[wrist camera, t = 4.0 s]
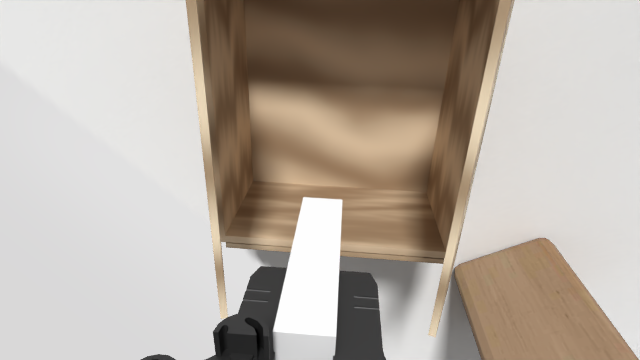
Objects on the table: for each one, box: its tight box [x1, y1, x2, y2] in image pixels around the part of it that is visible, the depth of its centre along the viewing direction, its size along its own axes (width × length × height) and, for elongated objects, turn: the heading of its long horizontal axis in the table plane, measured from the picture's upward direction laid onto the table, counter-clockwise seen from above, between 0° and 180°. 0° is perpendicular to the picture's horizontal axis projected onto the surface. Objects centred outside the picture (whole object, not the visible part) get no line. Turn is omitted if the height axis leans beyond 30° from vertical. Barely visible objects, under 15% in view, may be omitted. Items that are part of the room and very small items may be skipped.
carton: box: [197, 0, 500, 264], centre depth 31 cm, size 21×18×10 cm
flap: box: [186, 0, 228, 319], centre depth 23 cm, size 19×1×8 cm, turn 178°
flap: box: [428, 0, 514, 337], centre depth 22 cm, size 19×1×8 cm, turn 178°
